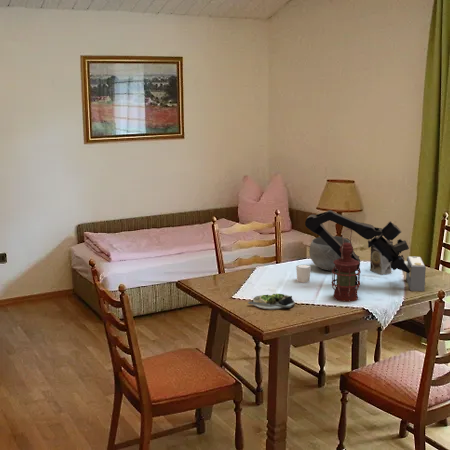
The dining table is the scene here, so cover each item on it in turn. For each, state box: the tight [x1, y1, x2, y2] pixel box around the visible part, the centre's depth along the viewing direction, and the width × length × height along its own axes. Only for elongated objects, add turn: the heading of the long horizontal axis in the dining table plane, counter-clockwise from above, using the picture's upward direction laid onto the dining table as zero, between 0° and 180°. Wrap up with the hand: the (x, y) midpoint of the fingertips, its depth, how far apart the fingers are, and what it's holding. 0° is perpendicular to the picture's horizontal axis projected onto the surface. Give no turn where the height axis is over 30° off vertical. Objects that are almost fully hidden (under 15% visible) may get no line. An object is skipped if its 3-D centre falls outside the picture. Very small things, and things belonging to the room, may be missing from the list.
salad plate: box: [247, 293, 295, 311], centre depth 263 cm, size 19×18×5 cm
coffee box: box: [369, 238, 394, 276], centre depth 307 cm, size 9×6×16 cm
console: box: [405, 256, 426, 292], centre depth 285 cm, size 6×18×12 cm, turn 170°
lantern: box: [331, 228, 362, 303], centre depth 267 cm, size 12×12×30 cm
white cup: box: [295, 264, 312, 284], centre depth 295 cm, size 7×7×7 cm
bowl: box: [308, 235, 350, 272], centre depth 314 cm, size 20×20×15 cm
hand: (409, 272), depth 280 cm, fingers closed, pressing on brass button
